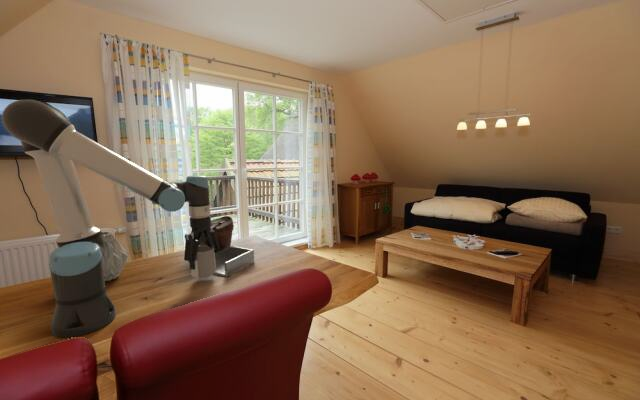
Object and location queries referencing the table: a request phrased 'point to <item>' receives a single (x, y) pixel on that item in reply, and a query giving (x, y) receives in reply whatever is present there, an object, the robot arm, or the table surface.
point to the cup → (205, 261)
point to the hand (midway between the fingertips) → (204, 271)
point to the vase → (114, 257)
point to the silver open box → (233, 260)
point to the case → (222, 232)
